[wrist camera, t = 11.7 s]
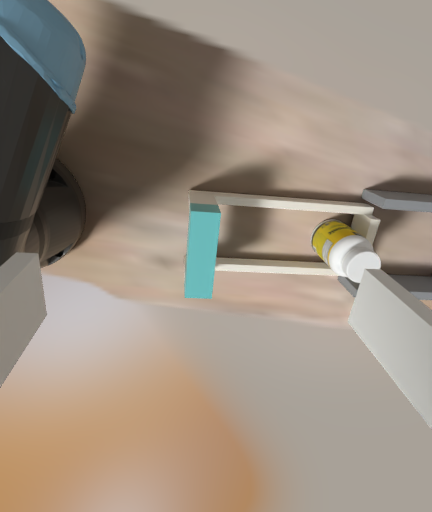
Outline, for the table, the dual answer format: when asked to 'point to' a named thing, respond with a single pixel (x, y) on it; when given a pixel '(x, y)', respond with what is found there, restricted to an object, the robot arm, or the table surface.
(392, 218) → the table surface
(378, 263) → the supplement bottle
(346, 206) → the drawer
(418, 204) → the grey u-shaped bracket
